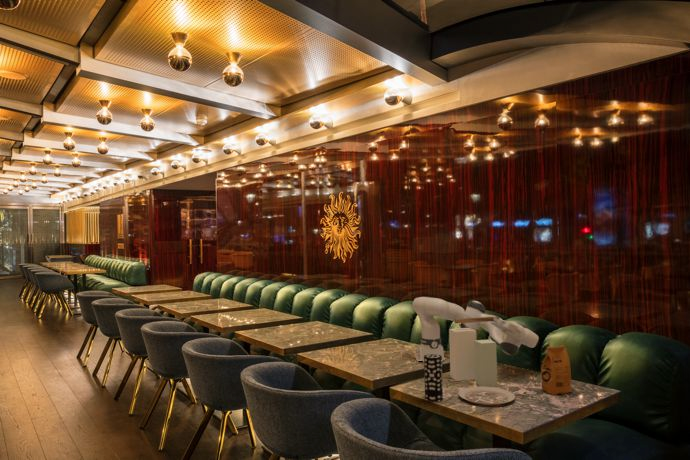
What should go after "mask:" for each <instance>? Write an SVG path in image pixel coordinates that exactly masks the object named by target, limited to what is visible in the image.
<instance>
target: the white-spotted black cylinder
mask: <svg viewBox="0 0 690 460" xmlns="http://www.w3.org/2000/svg"><path fill="white" fill-rule="evenodd" d="M423 368H424V369H423V370H424V371H423V372H424V373H423V374H424V375H423V376H424V400H425V401H428V402H434V403H437V402H442V401H443V400H444V388H443V387H444V386H443V383H444V382H443V362H442V356H441V355H437V354H428V355H424V362H423Z"/></svg>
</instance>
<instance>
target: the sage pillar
mask: <svg viewBox="0 0 690 460" xmlns="http://www.w3.org/2000/svg"><path fill="white" fill-rule="evenodd" d="M474 343H475V379H476V380H475V384H476V385H478V386H479V387H480V386H481V387H498V364H497V363H498V362H497V361H498V359H497V344H496V342H493V341H492V340H491V339H478V340H474Z"/></svg>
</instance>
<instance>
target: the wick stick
mask: <svg viewBox="0 0 690 460" xmlns="http://www.w3.org/2000/svg"><path fill="white" fill-rule="evenodd" d="M494 316H495V318H497V319H499V320H500V318H501V317H499V316H497V315H494ZM493 318H494V317H479V318H462V319H454V323H455V324H461V323H472V322H488V321H493Z"/></svg>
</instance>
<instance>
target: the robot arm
mask: <svg viewBox="0 0 690 460" xmlns="http://www.w3.org/2000/svg"><path fill="white" fill-rule="evenodd" d="M412 310H413V311H414V312H415V313H416V314H417V316H418V319H419V322H420V327H421V340H420V344H419V345H418V347H417V349H415V353H416V354H414V355H413V357H414V356H415V357H414V359H415V358H416V359H415V360H417V361H423V362H422V363H424V355H428V354H437V355H441V356H442V361H443V360H444V361H446V360H447V358H446V357H445V355H444V354H445V353H444V347H443V345H442V339H441V327H440V324H439V323H438V322H437V321H436V319H435V317H436V318H440V319H443V320H446V321H447V320H448V321H452V322H453V321H454V319H462V318H479V317H494V318H493V321H488V322H472V323H458V326H459V327H460V328H471V329H474V330H476V335H477V334H478V332H479V328H480V327H481V328H482V329H483V330H485V331H486V332H488V334H489V339H490V340H491V341H493V342H496V346H497V347H499V348H500V350H501V351H502V352H503V353H505V354H506V355H508V356H515V355H517V354H518V352H519V349H520V347H521V345H523V346H525V347H528V348H531V349H532V348H535V347H536V346H537V344H538V342H539V339H540V338H539V335H538V334H537V333H535V332H533V331H532V330H531V329H529V328H528V326H526V325H524V324H522V323H521V322H516V321H514V320H510V321H507V320H503V318H501V317H499V318H500V320H499V319H497V318H495V316H496V315H494V314H488V313H486V312H487V309H486V306H484V304H483V303H481V302H480V301H478V300H469V301H468V302H467V305H466V308H465V309H464V308H463V307H462V306H460V305H458V304H456V303H452V302H451V301H450V302H449V301H446V300H444V299H442V298H439V297H438V298H437V297H430V296H419V297H415V298H414V300H413V301H412ZM454 322H455V321H454ZM445 359H446V360H445ZM417 361H416V362H417ZM444 361H443V362H444Z"/></svg>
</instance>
